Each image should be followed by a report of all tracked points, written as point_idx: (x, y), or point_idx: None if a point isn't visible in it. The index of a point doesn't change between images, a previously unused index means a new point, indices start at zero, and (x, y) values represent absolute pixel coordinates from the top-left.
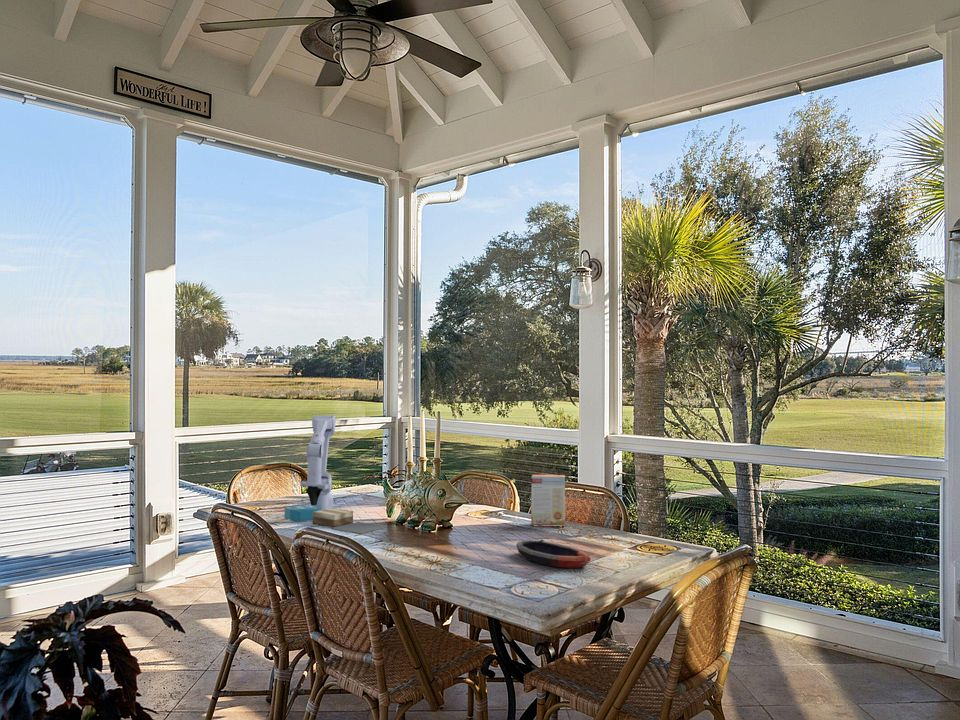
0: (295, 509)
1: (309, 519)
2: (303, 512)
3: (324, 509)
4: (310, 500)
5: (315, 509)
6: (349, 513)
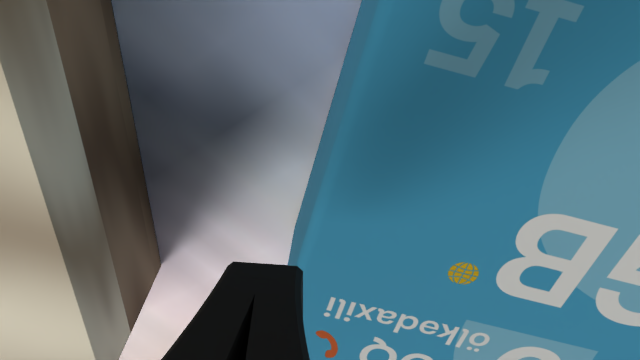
0: (635, 74)
1: (334, 100)
2: (363, 43)
3: (64, 272)
4: (275, 334)
5: None
6: None
